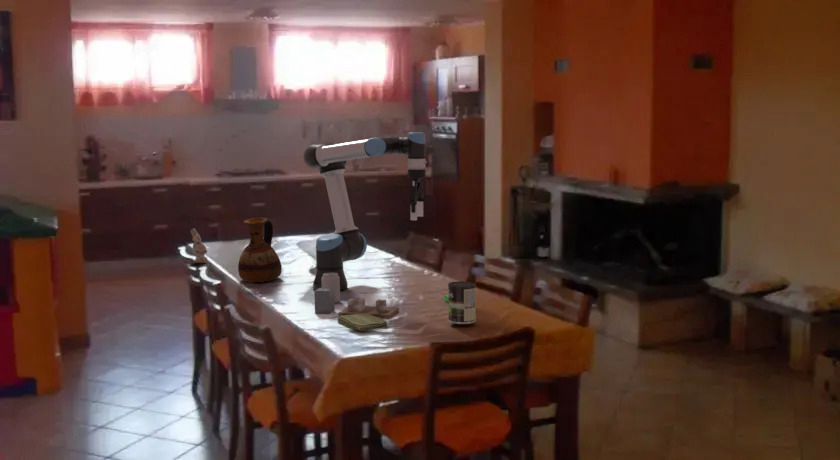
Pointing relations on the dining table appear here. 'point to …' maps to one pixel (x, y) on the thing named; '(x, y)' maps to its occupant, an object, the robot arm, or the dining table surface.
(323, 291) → the dark grey block
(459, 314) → the coffee can
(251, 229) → the ceramic pitcher
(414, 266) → the dining table surface
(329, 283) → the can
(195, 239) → the figurine
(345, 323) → the washcloth
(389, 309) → the board
